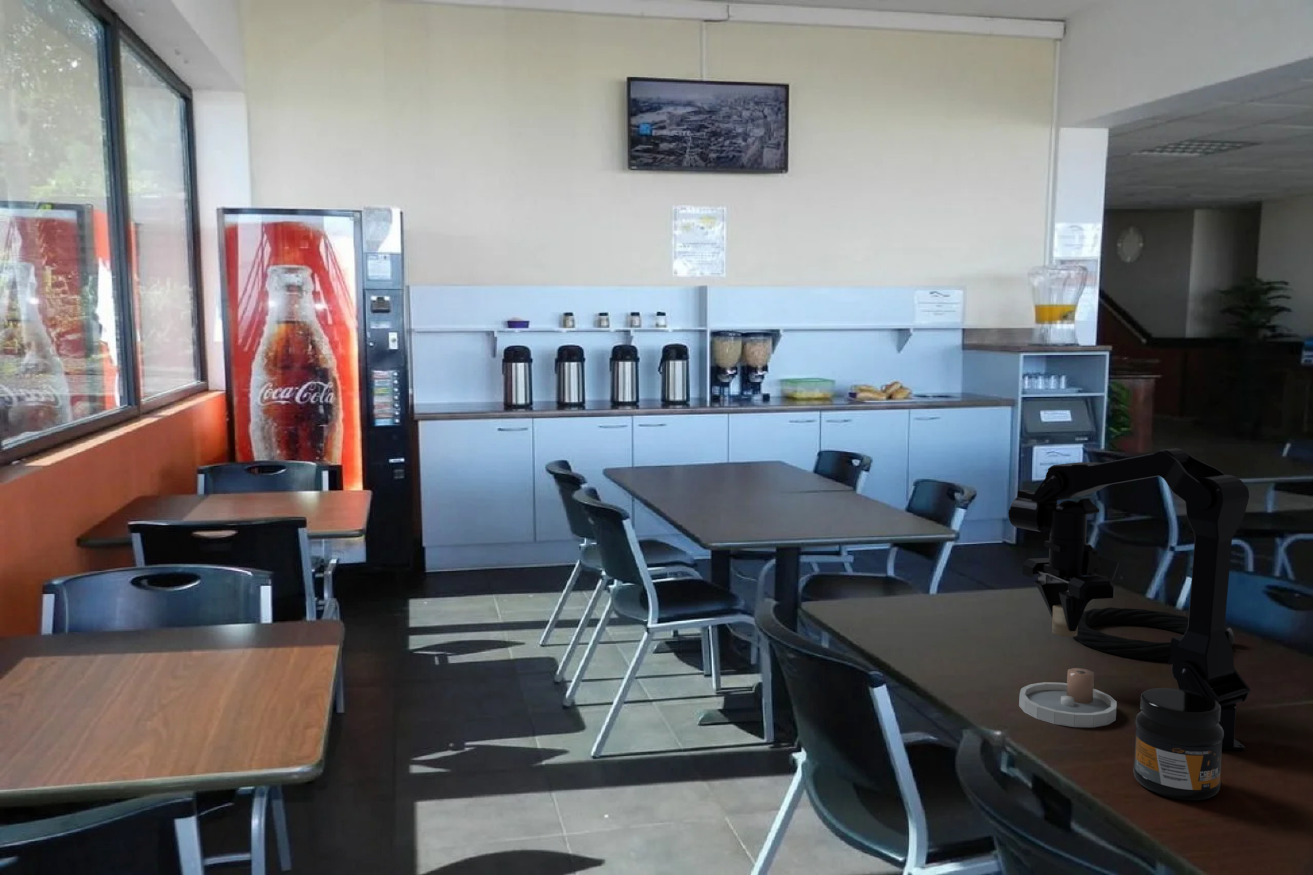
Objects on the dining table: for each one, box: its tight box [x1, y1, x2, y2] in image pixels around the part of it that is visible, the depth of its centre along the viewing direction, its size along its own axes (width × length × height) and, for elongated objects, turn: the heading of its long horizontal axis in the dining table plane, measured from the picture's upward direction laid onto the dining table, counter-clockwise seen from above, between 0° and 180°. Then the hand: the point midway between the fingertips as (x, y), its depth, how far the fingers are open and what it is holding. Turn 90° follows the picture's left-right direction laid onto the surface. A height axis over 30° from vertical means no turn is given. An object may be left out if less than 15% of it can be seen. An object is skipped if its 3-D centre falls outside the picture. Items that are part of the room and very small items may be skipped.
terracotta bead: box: [1066, 667, 1095, 703], centre depth 165 cm, size 4×4×5 cm
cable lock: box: [1072, 606, 1235, 662], centre depth 200 cm, size 28×4×30 cm
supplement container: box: [1132, 687, 1224, 801], centre depth 136 cm, size 10×10×12 cm
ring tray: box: [1018, 681, 1118, 728], centre depth 163 cm, size 14×14×2 cm
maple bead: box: [1051, 605, 1078, 638], centre depth 172 cm, size 4×4×5 cm
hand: (1065, 627), depth 172 cm, fingers closed on maple bead, 4 cm apart
